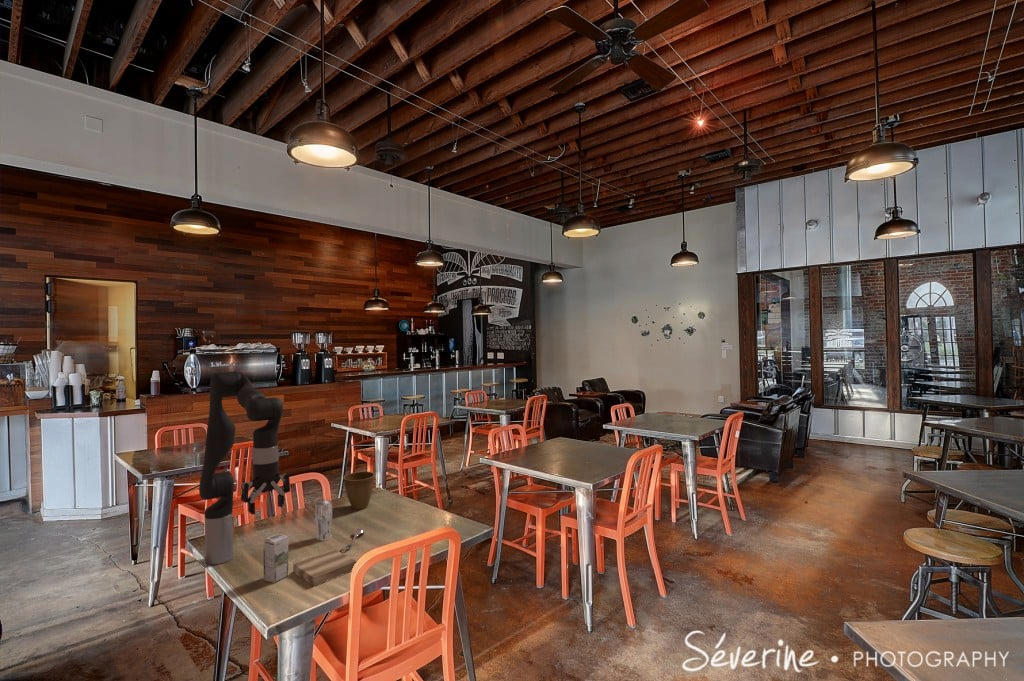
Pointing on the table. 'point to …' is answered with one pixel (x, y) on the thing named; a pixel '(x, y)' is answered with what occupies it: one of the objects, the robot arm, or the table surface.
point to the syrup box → (275, 558)
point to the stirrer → (356, 533)
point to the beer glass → (323, 519)
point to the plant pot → (359, 488)
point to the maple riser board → (323, 567)
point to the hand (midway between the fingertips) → (266, 510)
